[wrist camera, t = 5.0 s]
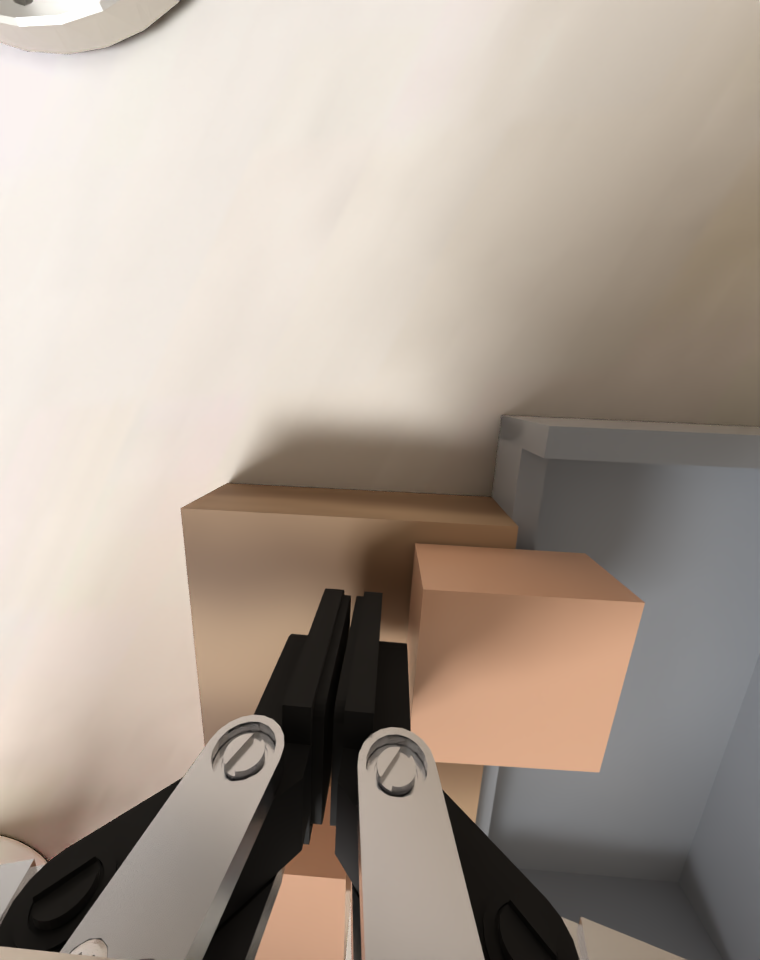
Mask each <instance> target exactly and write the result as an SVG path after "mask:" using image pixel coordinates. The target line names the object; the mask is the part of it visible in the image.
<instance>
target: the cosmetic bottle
mask: <svg viewBox="0 0 760 960" xmlns="http://www.w3.org/2000/svg"><path fill="white" fill-rule="evenodd" d="M30 859H35V863H36V866H40V865H45V864H46V863H47V861H46V860H45V859H44V858H43V857H42V856H41V855H40V854H38V853H37V852H36V851H35V850H33V849H32V848H30V847H29V846H27V845H25V844H23V843H21V842H19V841H16V840H14V839H11V838H8V837H4V836H0V865H1V864H7V863H13V862H18V861H24V860H30Z"/></svg>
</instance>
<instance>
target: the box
mask: <svg viewBox="0 0 760 960" xmlns="http://www.w3.org/2000/svg"><path fill="white" fill-rule="evenodd" d="M492 498H493V499H494V500H495V501H496V502H497V503H498V505H499V506H500V507H501V508H502V509H503V510H504V511H505V512H506V513H507V515H508V516H509V517H510V518H511V519H512V520H513V521H514V522H515V523H516V524H517V526H518V534H517V541H516V548H515V549H521V550H538V551H555V552H572V553H585V554H587V555H588V556H589V557H590V558H591V559H593V560H594V561H595V562H596V563H597V564H599V565H600V566H601V567H602V568H604V569H605V570H606V571H607V572H608V573H610V574H611V575H612V576H613V577H614V578H616V579H617V580H618V581H619V582H621V583H622V584H623V585H624V586H625V587H627V588H628V589H629V590H630V591H631V592H633V593H634V594H635V595H636V596H638V597H639V598H640V599H641V600H642V601H644V602H645V605H644V609H643V612H642V616H641V620H640V623H639V627H638V631H637V635H636V638H635V642H634V646H633V649H632V653H631V657H630V661H629V664H628V668H627V672H626V675H625V679H624V683H623V686H622V690H621V694H620V698H619V701H618V705H617V709H616V712H615V716H614V720H613V724H612V727H611V731H610V735H609V738H608V742H607V746H606V750H605V753H604V757H603V761H602V764H601V768H600V772H584V771H568V770H553V769H537V768H521V767H506V766H490V765H484V767H483V774H482V781H481V787H480V794H479V801H478V808H477V815H476V822H475V824H476V825H477V826H478V827H479V828H480V829H481V830H482V831H483V832H484V833H485V834H486V835H487V837H488V838H489V839H490V840H491V841H492V842H493V843H494V844H495V845H496V846H497V847H498V848H499V849H500V850H501V851H502V852H503V853H504V854H505V855H506V856H507V857H508V859H509V860H510V861H511V862H512V863H513V864H514V865H515V866H516V867H517V868H518V869H519V870H520V871H521V872H522V873H523V874H524V875H525V876H526V877H527V878H528V879H529V881H530V882H531V883H532V884H533V885H534V886H535V887H536V888H537V889H538V890H539V891H540V892H541V893H542V894H543V895H544V896H545V897H546V898H547V900H548V901H549V902H550V903H551V905H552V906H553V907H554V908H555V910H556V911H557V912H558V914H559V915H560V916H561V917H563V918H566V919H568V920H570V921H573V922H575V923H578V924H579V921H580V917H583V918H586V919H588V920H591V921H593V922H596V923H598V924H601V925H603V926H606V927H608V928H610V929H613V930H615V931H618V932H620V933H623V934H625V935H628V936H630V937H633V938H635V939H638V940H640V941H642V942H645V943H647V944H650V945H652V946H655V947H657V948H660V949H662V950H665V951H667V952H670V953H672V954H674V955H677V956H679V957H682V958H684V959H687V960H760V427H756V426H734V425H711V424H689V423H666V422H643V421H621V420H598V419H576V418H553V417H531V416H508V415H502V416H501V424H500V432H499V440H498V449H497V457H496V465H495V473H494V481H493V489H492Z"/></svg>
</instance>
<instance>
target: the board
mask: <svg viewBox="0 0 760 960" xmlns="http://www.w3.org/2000/svg"><path fill="white" fill-rule="evenodd" d="M181 516H182V526H183V536H184V545H185V555H186V565H187V575H188V585H189V595H190V605H191V615H192V624H193V634H194V644H195V654H196V664H197V674H198V684H199V694H200V703H201V713H202V723H203V733H204V743H205V746H206V745H207V743H208V742H209V740H210V739H211V738H212V737H213V736H214V735H215V734H216V732H217V731H218V730H219V729H221V728H222V727H223V726H225V725H226V724H228V723H229V722H231V721H233V720H235V719H238V718H240V717H244V716H249V715H254V713H255V711H256V708H257V706H258V704H259V702H260V699H261V697H262V695H263V693H264V691H265V688H266V686H267V684H268V682H269V679H270V677H271V675H272V673H273V670H274V668H275V666H276V664H277V661H278V659H279V657H280V655H281V652H282V650H283V648H284V646H285V644H286V641H287V639H288V637H289V636H290V635H291V634H301V635H308V633H309V631H310V628H311V625H312V623H313V620H314V617H315V615H316V612H317V609H318V606H319V604H320V601H321V598H322V596H323V593H324V590H325V589H326V588H328V589H341V590H344V591H345V595H351V613H350V626H351V621H352V616H353V611H354V606H355V601H356V596H364V591H366V592H379V593H383V596H382V610H381V625H380V640H379V641H386V642H398V643H407V633H408V621H409V609H410V597H411V586H412V574H413V562H414V550H415V543H420V544H437V545H453V546H470V547H487V548H504V549H515V548H516V541H517V534H518V526H517V524H516V523H515V522H514V521H513V520H512V519H511V518H510V517H509V516H508V515H507V513H506V512H505V511H504V510H503V509H502V508H501V507H500V506H499V505H498V503H497V502H496V501H495V500H494V499H493V498H492V497H484V496H464V495H445V494H426V493H407V492H387V491H368V490H349V489H329V488H310V487H291V486H272V485H252V484H233V483H227V484H225V485H223V486H221V487H219V488H217V489H216V490H214V491H212V492H210V493H208V494H206V495H204V496H203V497H201V498H199V499H197V500H195V501H193V502H191V503H190V504H188V505H186V506H184V507H182V508H181ZM435 763H436V767H437V771H438V775H439V779H440V783H441V787H442V789H443V790H444V791H445V793H446V794H447V795H448V796H449V797H450V798H451V799H452V800H453V801H454V802H455V803H456V804H457V805H458V806H459V807H460V808H461V809H462V810H463V811H464V812H465V813H466V815H467V816H468V817H469V818H470V819H471V820H472V821H473V822H474V823H475V822H476V815H477V808H478V801H479V794H480V787H481V781H482V774H483V767H484V765H474V764H459V763H443V762H435ZM331 774H332V773H331ZM329 786H331V778H330V784H329Z"/></svg>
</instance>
